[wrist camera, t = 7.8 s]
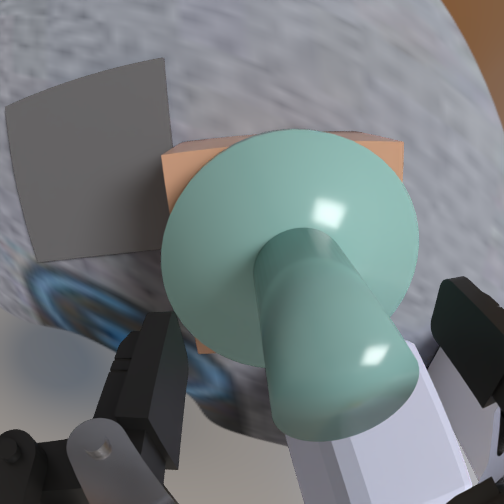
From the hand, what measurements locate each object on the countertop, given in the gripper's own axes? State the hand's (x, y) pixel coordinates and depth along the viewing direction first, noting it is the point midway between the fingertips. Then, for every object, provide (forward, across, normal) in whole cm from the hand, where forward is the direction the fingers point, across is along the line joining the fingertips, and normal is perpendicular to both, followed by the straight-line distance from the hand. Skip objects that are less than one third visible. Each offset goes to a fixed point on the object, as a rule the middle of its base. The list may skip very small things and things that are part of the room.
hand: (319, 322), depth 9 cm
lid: (+4, 0, 0) cm, 4 cm away
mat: (+9, +10, -4) cm, 14 cm away
